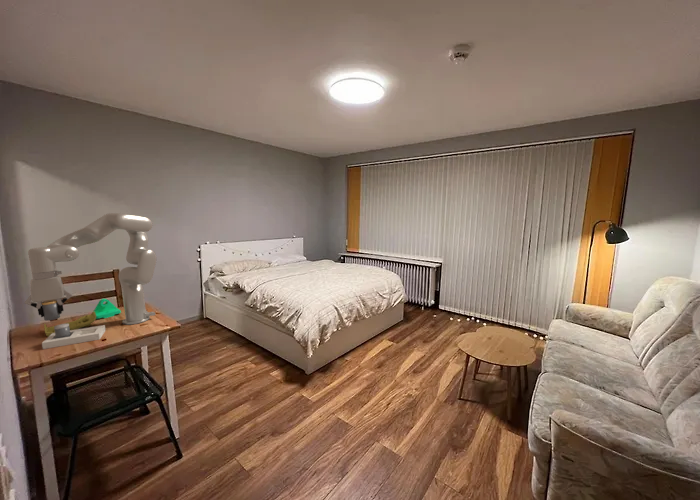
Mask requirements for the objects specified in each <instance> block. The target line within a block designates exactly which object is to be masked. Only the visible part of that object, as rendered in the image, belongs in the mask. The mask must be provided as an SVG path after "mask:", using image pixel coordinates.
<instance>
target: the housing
mask: <svg viewBox="0 0 700 500" xmlns="http://www.w3.org/2000/svg"><path fill="white" fill-rule="evenodd" d="M105 333H106V325H105V324H103V325H97V326H90V327H89V326H88V327H82V328H79V329H76V330H70V335H71V336H70V337H64V338H58V339H56V336H55V333H52V334H51V335H50V336H49V337H48V336H47V338H45V340H43V341H42V342H41V348H42V350H47V349H53V348H58V347H64V346H70V345H76V344H81V343H86V342H92V341H93V342H94V341H98V340H101V338H102V337H103V335H104V334H105Z"/></svg>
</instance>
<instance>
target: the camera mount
mask: <svg viewBox="0 0 700 500" xmlns="http://www.w3.org/2000/svg"><path fill="white" fill-rule="evenodd" d="M104 302H105V303H104ZM92 312H95V313H96V319H95V320H97V319H101V318H103V319H108V318H111V317H115V315H118V314H121V313H122V311H121V309H119V308H118V307H116V306H115V304H113V303H112V302H111V301H110V300H109V299H107V298H101V299H100V300H98V303H97V305H96V306H95V308H94V310H93V311H92Z"/></svg>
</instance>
